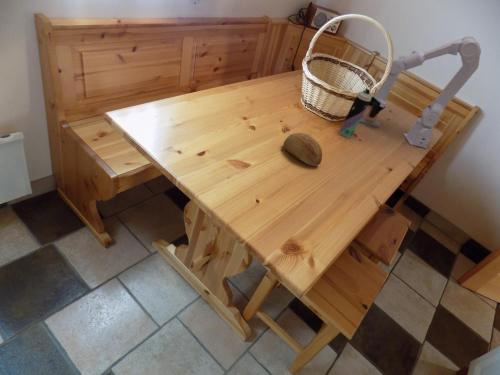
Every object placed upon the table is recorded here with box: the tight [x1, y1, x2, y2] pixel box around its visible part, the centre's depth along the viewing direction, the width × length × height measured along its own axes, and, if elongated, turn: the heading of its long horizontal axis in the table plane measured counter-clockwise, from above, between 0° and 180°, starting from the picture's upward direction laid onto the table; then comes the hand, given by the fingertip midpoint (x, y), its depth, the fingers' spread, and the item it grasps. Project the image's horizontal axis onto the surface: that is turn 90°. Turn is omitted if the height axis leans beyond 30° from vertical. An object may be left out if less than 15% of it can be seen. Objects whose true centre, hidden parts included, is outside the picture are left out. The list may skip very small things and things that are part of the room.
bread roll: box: [283, 132, 323, 167], centre depth 108 cm, size 10×15×8 cm, turn 49°
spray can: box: [339, 87, 372, 139], centre depth 127 cm, size 6×6×20 cm
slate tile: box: [358, 116, 381, 129], centre depth 149 cm, size 10×10×1 cm
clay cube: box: [363, 105, 380, 122], centre depth 147 cm, size 5×5×5 cm
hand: (369, 114), depth 148 cm, fingers open, 5 cm apart
